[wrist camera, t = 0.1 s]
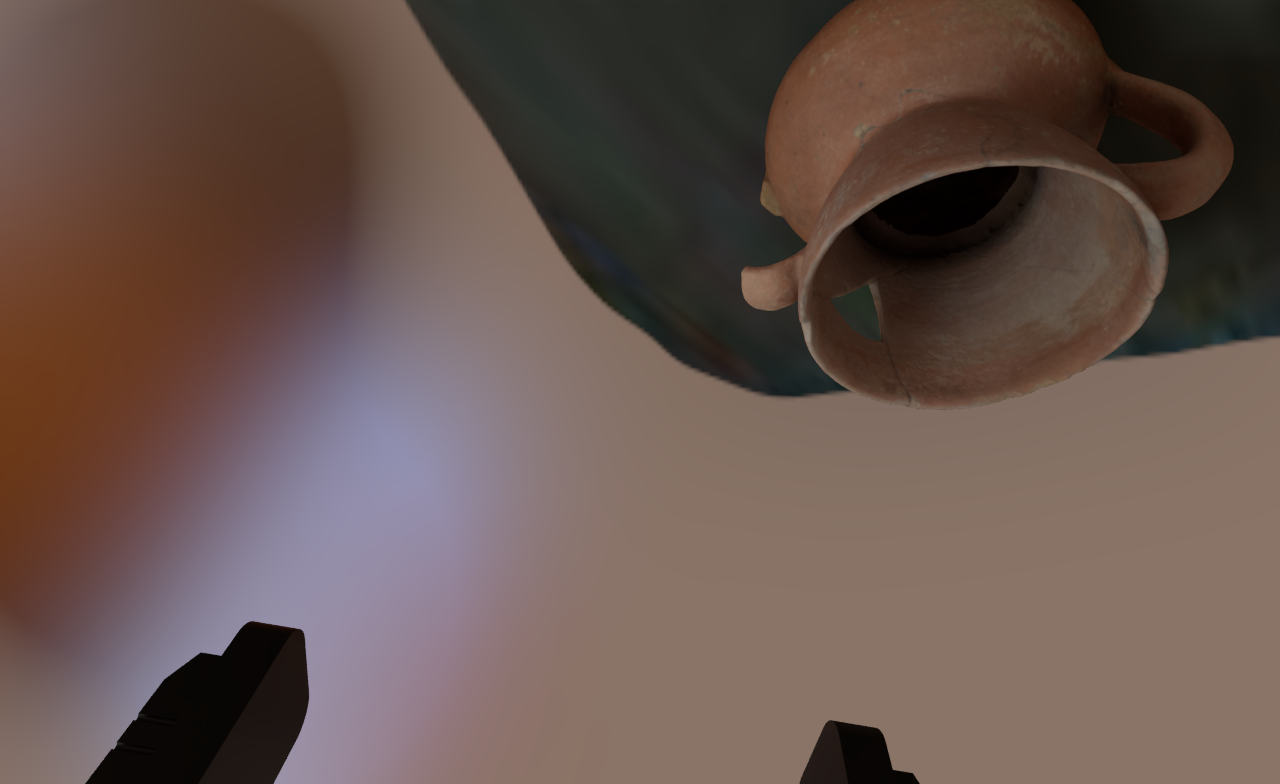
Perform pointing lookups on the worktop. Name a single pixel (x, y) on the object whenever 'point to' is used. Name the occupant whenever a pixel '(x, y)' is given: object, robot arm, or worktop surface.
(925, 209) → the ceramic jug
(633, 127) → the worktop surface
